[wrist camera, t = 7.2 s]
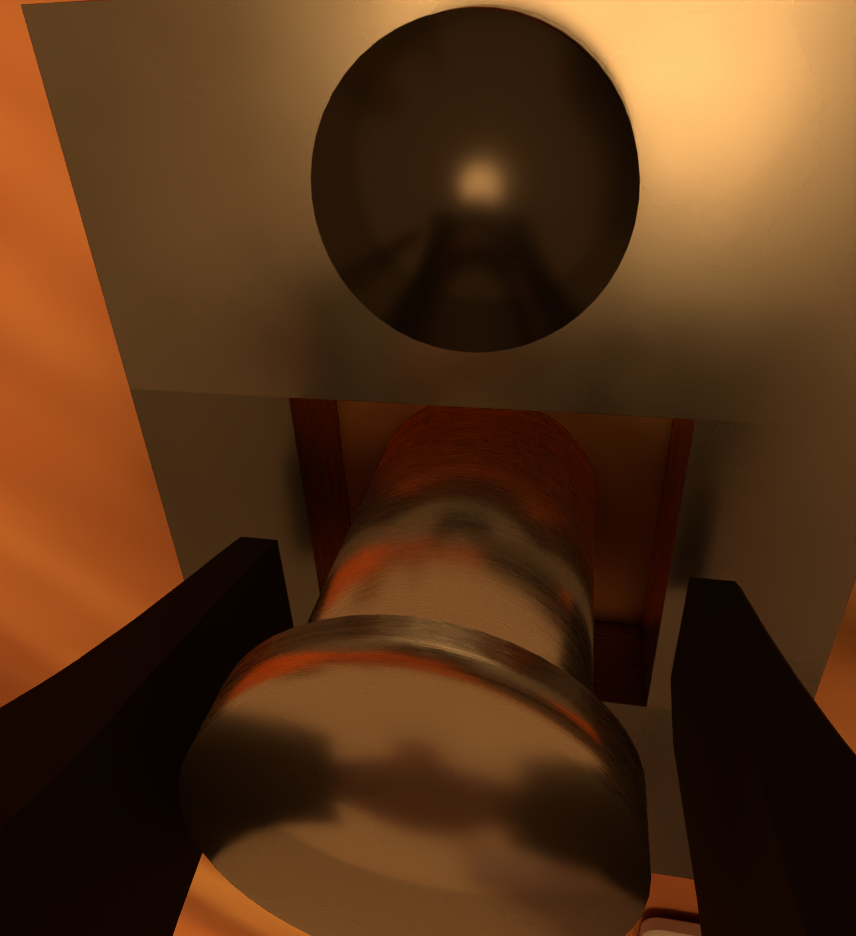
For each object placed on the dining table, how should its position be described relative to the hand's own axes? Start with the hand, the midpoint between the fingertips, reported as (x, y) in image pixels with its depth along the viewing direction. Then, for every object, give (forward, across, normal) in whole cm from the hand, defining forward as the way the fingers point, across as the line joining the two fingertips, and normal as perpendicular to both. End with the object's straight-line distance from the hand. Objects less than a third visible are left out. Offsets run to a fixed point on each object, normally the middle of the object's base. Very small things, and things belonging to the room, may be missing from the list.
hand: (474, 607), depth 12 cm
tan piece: (+3, 0, 0) cm, 3 cm away
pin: (+3, 0, 0) cm, 3 cm away
